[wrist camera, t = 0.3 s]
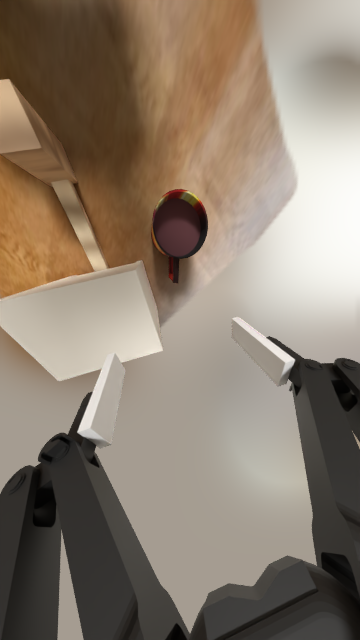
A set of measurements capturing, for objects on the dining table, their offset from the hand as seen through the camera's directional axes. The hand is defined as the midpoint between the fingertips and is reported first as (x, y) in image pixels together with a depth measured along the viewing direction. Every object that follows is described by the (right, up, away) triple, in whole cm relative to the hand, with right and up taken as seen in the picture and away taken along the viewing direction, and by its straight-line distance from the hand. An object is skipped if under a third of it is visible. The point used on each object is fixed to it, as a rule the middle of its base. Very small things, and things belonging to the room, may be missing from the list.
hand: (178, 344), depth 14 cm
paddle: (-21, +22, +14) cm, 34 cm away
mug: (-1, +22, +19) cm, 30 cm away
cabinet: (-17, +10, +22) cm, 29 cm away
